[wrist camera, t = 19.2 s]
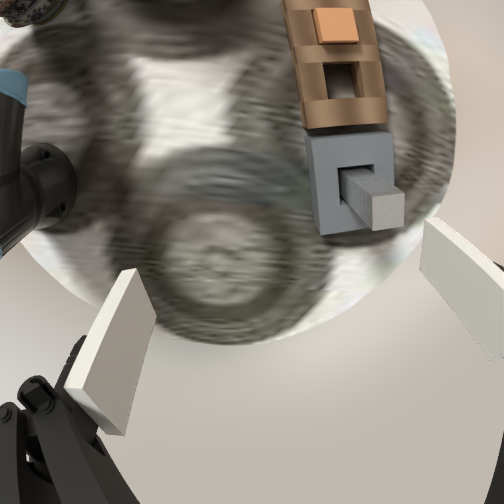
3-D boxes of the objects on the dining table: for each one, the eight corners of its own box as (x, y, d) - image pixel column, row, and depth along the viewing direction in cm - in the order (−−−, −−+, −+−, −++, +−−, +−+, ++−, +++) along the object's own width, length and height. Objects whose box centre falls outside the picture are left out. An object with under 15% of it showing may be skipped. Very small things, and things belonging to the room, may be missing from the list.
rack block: (314, 222, 49) (320, 235, 44) (304, 136, 42) (311, 140, 38) (381, 212, 48) (393, 224, 43) (378, 129, 41) (392, 133, 37)
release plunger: (314, 47, 35) (322, 40, 31) (308, 17, 33) (315, 7, 28) (347, 46, 35) (359, 40, 30) (341, 16, 32) (352, 8, 28)
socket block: (302, 126, 41) (308, 128, 38) (280, 3, 32) (283, -6, 29) (377, 120, 41) (388, 122, 37) (357, 2, 31) (366, -5, 28)
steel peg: (335, 189, 46) (372, 231, 32) (333, 165, 44) (372, 196, 30) (358, 186, 46) (403, 226, 32) (357, 162, 44) (404, 193, 30)
